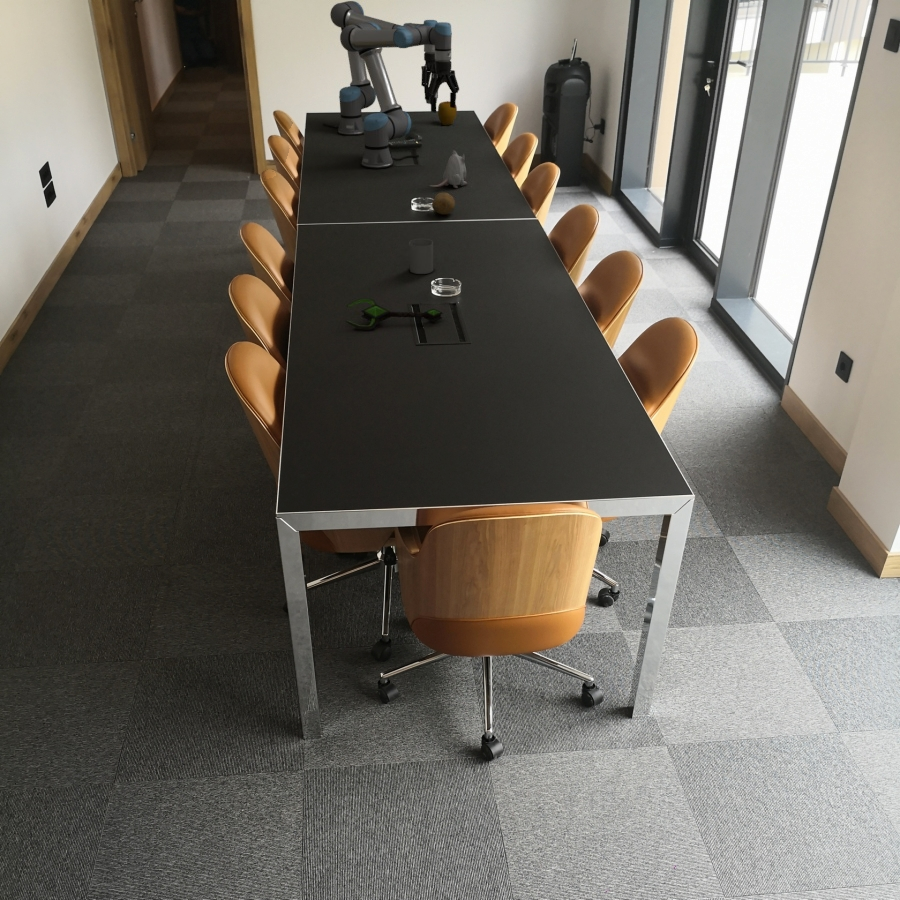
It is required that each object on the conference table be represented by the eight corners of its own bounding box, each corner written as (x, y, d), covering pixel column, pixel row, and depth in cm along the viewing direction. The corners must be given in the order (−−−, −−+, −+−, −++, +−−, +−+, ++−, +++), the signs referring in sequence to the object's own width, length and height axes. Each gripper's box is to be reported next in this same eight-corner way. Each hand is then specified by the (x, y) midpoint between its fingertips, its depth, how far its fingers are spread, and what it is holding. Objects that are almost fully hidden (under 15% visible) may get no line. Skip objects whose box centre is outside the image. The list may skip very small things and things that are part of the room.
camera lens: (432, 104, 469) (432, 89, 465) (423, 103, 473) (423, 87, 468) (439, 102, 473) (439, 87, 469) (430, 101, 477) (430, 86, 472)
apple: (456, 126, 498) (456, 103, 491) (437, 126, 498) (437, 102, 492) (456, 122, 508) (456, 99, 501) (438, 122, 508) (438, 99, 501)
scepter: (442, 294, 271) (346, 291, 269) (443, 324, 264) (344, 322, 262) (441, 307, 276) (346, 304, 274) (442, 337, 269) (345, 335, 267)
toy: (472, 184, 399) (472, 151, 391) (436, 195, 384) (436, 161, 376) (457, 180, 404) (458, 147, 396) (422, 191, 389) (421, 157, 381)
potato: (453, 208, 369) (453, 189, 365) (456, 218, 357) (456, 199, 353) (431, 208, 368) (430, 189, 364) (432, 218, 356) (432, 199, 352)
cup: (409, 265, 311) (408, 238, 306) (432, 265, 312) (431, 238, 307) (410, 274, 304) (409, 246, 299) (433, 273, 305) (433, 246, 299)
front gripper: (430, 64, 383) (431, 115, 395) (467, 58, 399) (466, 106, 411) (418, 62, 387) (419, 112, 399) (454, 56, 403) (454, 104, 415)
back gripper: (424, 55, 451) (425, 102, 464) (448, 51, 464) (447, 96, 476) (413, 53, 455) (414, 100, 468) (437, 49, 468) (437, 95, 480)
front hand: (443, 109), depth 405 cm, fingers open, 13 cm apart
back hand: (431, 98), depth 472 cm, fingers closed on camera lens, 6 cm apart
